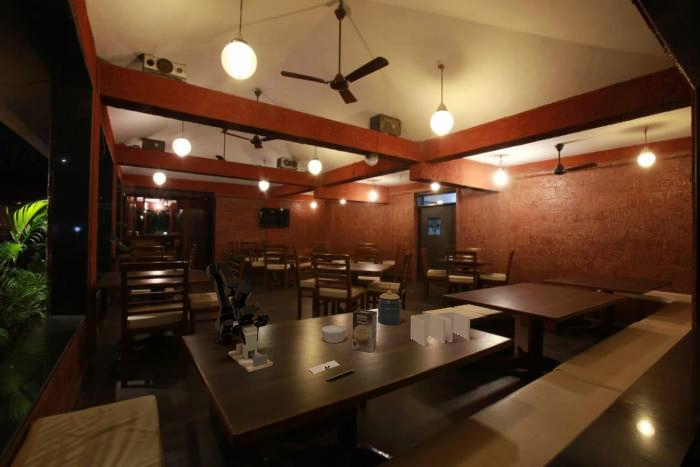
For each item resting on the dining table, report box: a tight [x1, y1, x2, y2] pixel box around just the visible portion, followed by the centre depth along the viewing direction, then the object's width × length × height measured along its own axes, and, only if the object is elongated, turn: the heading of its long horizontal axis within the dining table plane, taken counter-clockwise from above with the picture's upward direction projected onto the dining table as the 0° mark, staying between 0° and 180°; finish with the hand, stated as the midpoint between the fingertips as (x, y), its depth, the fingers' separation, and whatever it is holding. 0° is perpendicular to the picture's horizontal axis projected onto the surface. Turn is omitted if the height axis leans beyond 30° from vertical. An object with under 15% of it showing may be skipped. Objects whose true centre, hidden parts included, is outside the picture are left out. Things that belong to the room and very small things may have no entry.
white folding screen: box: [410, 311, 471, 347], centre depth 148 cm, size 25×11×11 cm, turn 111°
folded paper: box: [308, 360, 355, 381], centre depth 112 cm, size 12×12×2 cm
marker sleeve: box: [242, 325, 258, 359], centre depth 122 cm, size 3×4×11 cm
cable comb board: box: [228, 349, 274, 373], centre depth 122 cm, size 20×9×1 cm, turn 40°
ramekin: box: [321, 324, 347, 344], centre depth 146 cm, size 11×11×5 cm
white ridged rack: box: [235, 342, 268, 367], centre depth 121 cm, size 18×5×3 cm, turn 40°
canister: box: [377, 290, 402, 326], centre depth 176 cm, size 13×13×18 cm
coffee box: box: [351, 308, 378, 354], centre depth 135 cm, size 9×6×16 cm
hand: (251, 342), depth 121 cm, fingers closed on marker sleeve, 4 cm apart
